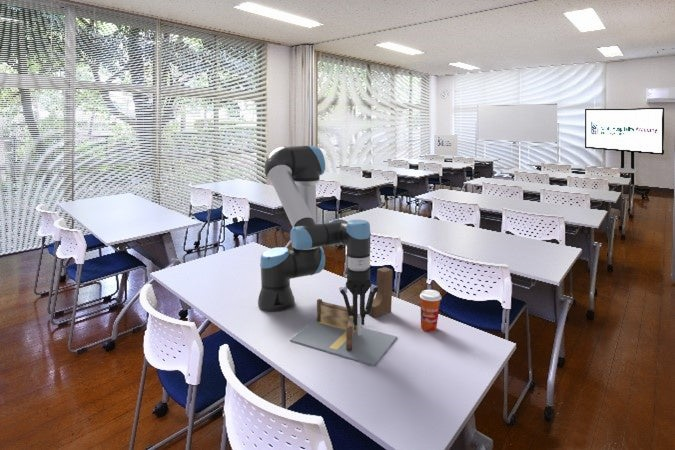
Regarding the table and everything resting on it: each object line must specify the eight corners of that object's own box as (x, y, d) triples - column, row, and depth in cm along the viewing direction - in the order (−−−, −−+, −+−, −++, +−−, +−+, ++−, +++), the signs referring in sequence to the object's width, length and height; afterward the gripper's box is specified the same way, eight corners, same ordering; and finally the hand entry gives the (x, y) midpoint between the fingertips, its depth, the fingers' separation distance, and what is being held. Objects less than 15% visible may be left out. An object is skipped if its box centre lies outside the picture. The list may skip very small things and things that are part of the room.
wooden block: (374, 318, 161) (375, 274, 157) (367, 313, 165) (367, 271, 160) (391, 312, 166) (393, 269, 162) (384, 308, 170) (385, 266, 165)
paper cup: (416, 331, 151) (418, 295, 148) (420, 321, 158) (422, 287, 155) (437, 335, 148) (440, 299, 145) (441, 325, 155) (443, 291, 152)
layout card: (289, 341, 144) (289, 339, 144) (319, 317, 161) (319, 316, 161) (374, 366, 130) (374, 364, 130) (396, 337, 147) (396, 336, 147)
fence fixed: (315, 321, 157) (315, 299, 155) (319, 318, 159) (318, 297, 157) (354, 331, 150) (354, 308, 148) (357, 328, 152) (357, 306, 150)
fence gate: (349, 330, 150) (349, 310, 148) (355, 330, 150) (355, 310, 148) (345, 350, 137) (346, 328, 135) (351, 350, 137) (352, 328, 135)
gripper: (340, 272, 130) (341, 340, 136) (380, 270, 132) (379, 337, 138) (337, 264, 138) (338, 329, 143) (375, 262, 139) (374, 326, 145)
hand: (358, 333), depth 140 cm, fingers closed
